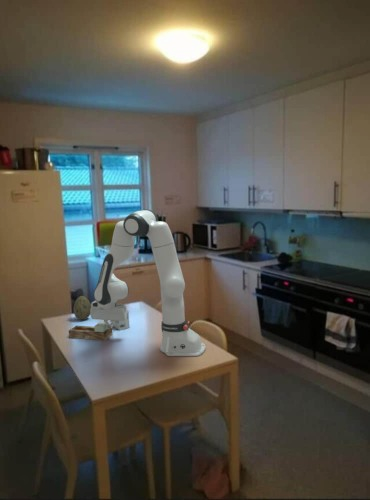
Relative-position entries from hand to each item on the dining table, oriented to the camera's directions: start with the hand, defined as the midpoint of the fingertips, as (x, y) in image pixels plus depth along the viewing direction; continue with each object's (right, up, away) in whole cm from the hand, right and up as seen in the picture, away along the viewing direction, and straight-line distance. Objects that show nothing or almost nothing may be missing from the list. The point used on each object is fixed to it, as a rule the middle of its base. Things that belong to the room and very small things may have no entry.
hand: (109, 327), depth 207 cm
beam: (-11, -6, +4) cm, 13 cm away
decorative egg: (-23, -2, +33) cm, 40 cm away
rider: (-4, -3, +2) cm, 6 cm away
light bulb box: (+3, -3, +18) cm, 18 cm away
